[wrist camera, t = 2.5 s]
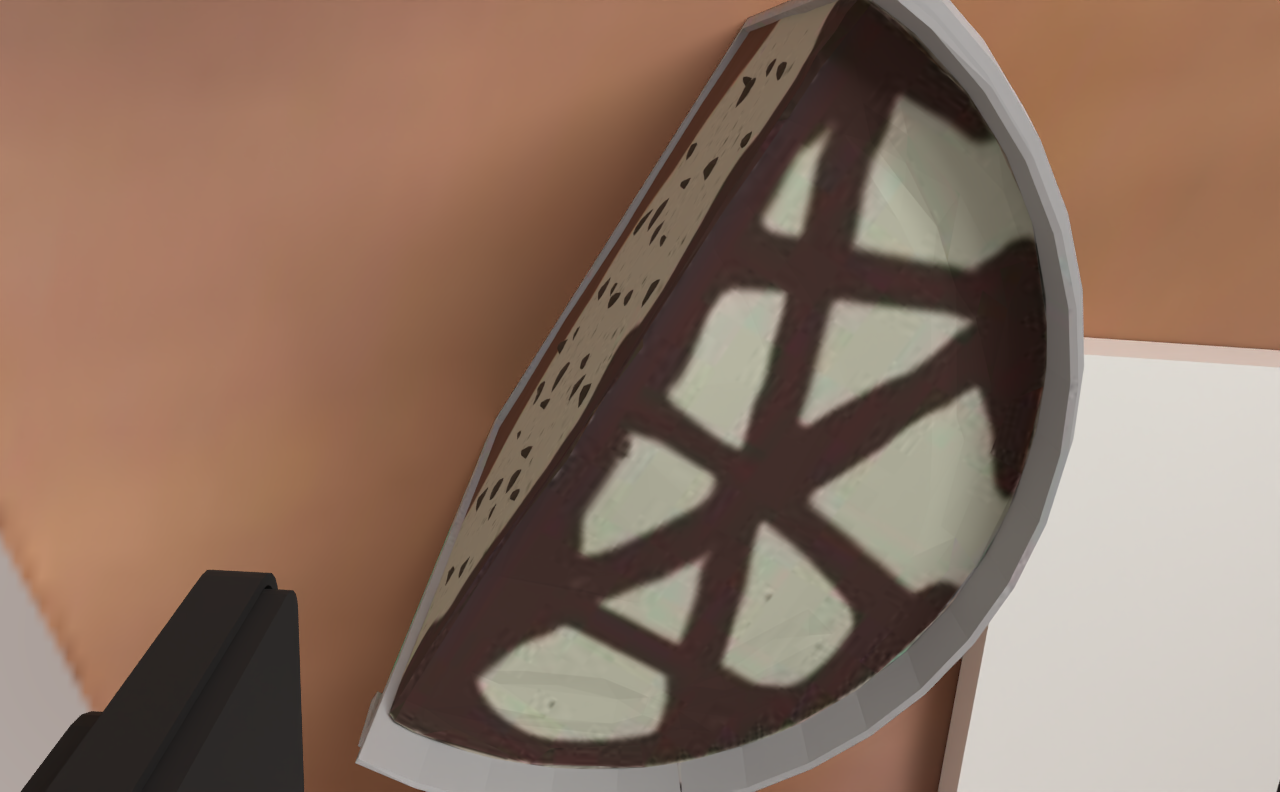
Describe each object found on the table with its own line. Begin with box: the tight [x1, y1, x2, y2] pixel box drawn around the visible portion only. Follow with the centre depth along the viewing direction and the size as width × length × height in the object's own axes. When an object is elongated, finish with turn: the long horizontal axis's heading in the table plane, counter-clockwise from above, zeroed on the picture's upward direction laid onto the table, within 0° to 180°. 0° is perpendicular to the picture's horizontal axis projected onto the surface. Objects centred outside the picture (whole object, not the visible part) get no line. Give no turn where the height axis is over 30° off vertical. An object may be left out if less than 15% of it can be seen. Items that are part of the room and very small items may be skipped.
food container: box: [355, 0, 1084, 792], centre depth 19 cm, size 12×6×10 cm, turn 148°
